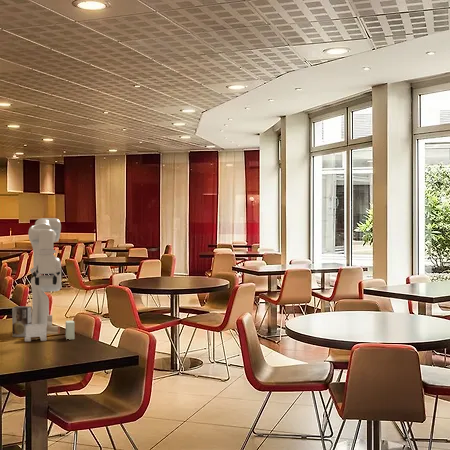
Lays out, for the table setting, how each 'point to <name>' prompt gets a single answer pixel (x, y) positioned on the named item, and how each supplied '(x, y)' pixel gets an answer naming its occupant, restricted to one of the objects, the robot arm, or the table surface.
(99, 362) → the table surface
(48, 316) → the inner bar
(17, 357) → the table surface
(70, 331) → the socket block
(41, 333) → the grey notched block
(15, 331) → the coffee box
